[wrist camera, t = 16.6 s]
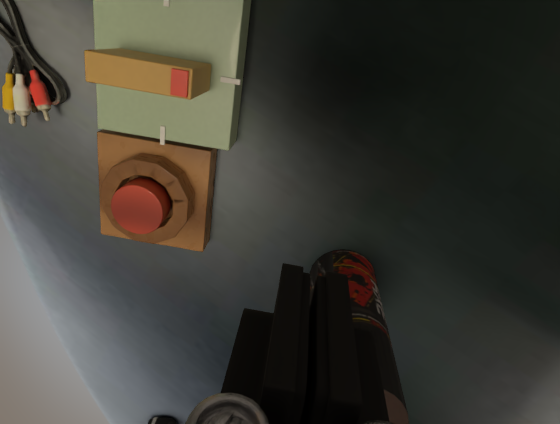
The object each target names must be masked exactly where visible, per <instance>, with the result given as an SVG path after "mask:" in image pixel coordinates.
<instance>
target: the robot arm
mask: <svg viewBox="0 0 560 424" xmlns="http://www.w3.org/2000/svg"><path fill="white" fill-rule="evenodd" d="M310 281H311V274H309V273H303V267H301V266H295V265H290V264H284V263H283V265H282V271H281V276H280V282H279V288H278V293H277V299H276V305H275V310H274V313H268V312H263V311H257V310H252V309H246V308H245V309H244V311H243V314H242V318H241V321H240V325H239V329H238V332H237V336H236V340H235V343H234V347H233V350H232V354H231V358H230V361H229V365H228V369H227V372H226V376H225V379H224V383H223V387H222V390H221V393H219V394H216V395H213V396H210V397H207V398H206V399H204V400H203V401H202V402H200V403H199V404H198V405H197V406H196V407H195V408H194V410H193V411H192V412H191V414H190V415H189V417H188V419H187V421H186V423H185V424H394V423H392V422H389V416H388V411H387V405H386V400H385V394H384V389H383V384H382V378H381V373H380V367H379V362H378V356H377V351H376V345H375V340H374V336H373V333H372V332H371V331H369V330H363V329H358V328H354V326H353V317H352V309H351V301H350V292H349V284H348V276H347V275H346V274H341V273H335V272H330V271H326V272H325V274H324V276H320V275H317V276H316V280H315V284H314V288H313V293H312V298H311V302H310Z"/></svg>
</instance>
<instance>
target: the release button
mask: <svg viewBox="0 0 560 424" xmlns="http://www.w3.org/2000/svg"><path fill="white" fill-rule="evenodd" d="M170 207H171V206H170V199H169V196H168V194H167V192H166V191H165V189H164V188H163V187H162V186H161V185H160V184H158V183H157V182H155V181H153V180H151V179H147V178H135V179H132V180H130V181H129V182H127V183H126V184H125V185H123V186H122V187H121V188H119V189H118V190H117V191H116V192H115V193H114V195H113V197H112V200H111V210H112V214H113V216H114V218H115V220H116V221H117V222H118V224H119V225H121V226H122V227H123V228H124V229H126V230H128V231H130V232H132V233H136V234H147V233H151V232H153V231H155V230H156V229H157V228H158V227H159V226H160V225H161V224H162V222H163V221H164V220H165V219H166V218H167V216H168V214H169V212H170Z"/></svg>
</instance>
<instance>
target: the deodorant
mask: <svg viewBox="0 0 560 424" xmlns="http://www.w3.org/2000/svg"><path fill="white" fill-rule="evenodd" d="M326 271H330V272H335V273H341V274H346V275H347V276H348V284H349V292H350V301H351V309H352V317H353V326H354V328H358V329H363V330H369V331H371V332H372V333H373V336H374V340H375V345H376V351H377V356H378V362H379V367H380V373H381V378H382V384H383V389H384V394H385V400H386V405H387V411H388V416H389V422H392V423H394V424H408V423H409V421H408V413H407V409H406V404H405V400H404V396H403V392H402V387H401V383H400V379H399V375H398V370H397V366H396V362H395V358H394V353H393V349H392V345H391V341H390V337H389V332H388V328H387V324H386V320H385V315H384V311H383V307H382V303H381V298H380V294H379V290H378V286H377V281H376V277H375V273H374V269H373V267H372V265H371V263H370V262H369V261H368V260H367V259H366V258H365V257H364V256H362V255H360V254H359V253H356V252H353V251H350V250H336V251H331V252H329V253H326V254H324V255H323V256H321V257H320V258H319V259H317V261H316V262H315V263H314V264H313V266H312V269H311V271H310V274H311V281H310V302H311V298H312V293H313V288H314V284H315V280H316V276H317V275H320V276H324V274H325V272H326Z"/></svg>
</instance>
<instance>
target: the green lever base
mask: <svg viewBox="0 0 560 424" xmlns="http://www.w3.org/2000/svg"><path fill="white" fill-rule="evenodd" d="M250 7H251V0H93V12H94V38H95V50H96V49H114V48H121V49H127V50H133V51H139V52H145V53H150V54H156V55H162V56H168V57H173V58H179V59H185V60H191V61H197V62H202V63H208V64H211V77H210V89H209V91H207V92H205V93H203V94H201V95H199V96H197V97H195V98H193V99H191V100H188V99H183V98H177V97H171V96H166V95H160V94H154V93H148V92H143V91H137V90H131V89H126V88H120V87H114V86H108V85H103V84H97V83H96V90H97V116H98V128H99V129H104V130H110V131H116V132H122V133H128V134H134V135H140V136H146V137H151V138H157V139H160V145H165V140H169V141H175V142H181V143H187V144H192V145H198V146H204V147H210V148H216V149H222V150H230V148H231V147H232V146H233V145H234V143H235V142H236V139H237V130H238V121H239V111H240V102H241V92H242V83H243V73H244V64H245V55H246V45H247V36H248V26H249V17H250Z"/></svg>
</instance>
